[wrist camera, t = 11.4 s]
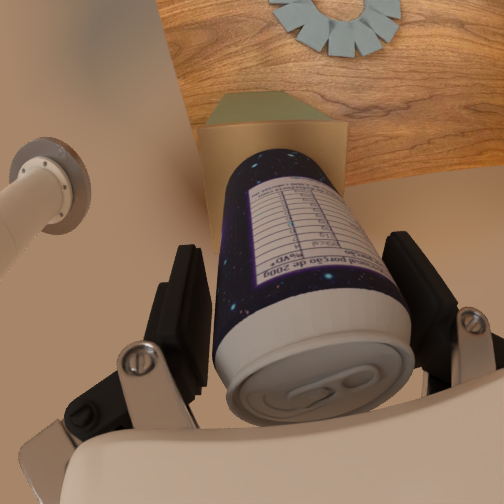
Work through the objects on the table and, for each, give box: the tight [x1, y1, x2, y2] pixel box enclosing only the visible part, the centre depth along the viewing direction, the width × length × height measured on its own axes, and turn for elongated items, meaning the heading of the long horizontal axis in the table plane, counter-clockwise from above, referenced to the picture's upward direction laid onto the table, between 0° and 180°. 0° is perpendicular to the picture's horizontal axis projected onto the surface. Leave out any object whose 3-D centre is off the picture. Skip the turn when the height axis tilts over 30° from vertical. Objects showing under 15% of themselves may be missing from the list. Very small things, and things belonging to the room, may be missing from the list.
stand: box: [197, 91, 348, 254], centre depth 26 cm, size 8×8×24 cm
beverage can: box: [212, 149, 415, 427], centre depth 11 cm, size 6×6×12 cm
